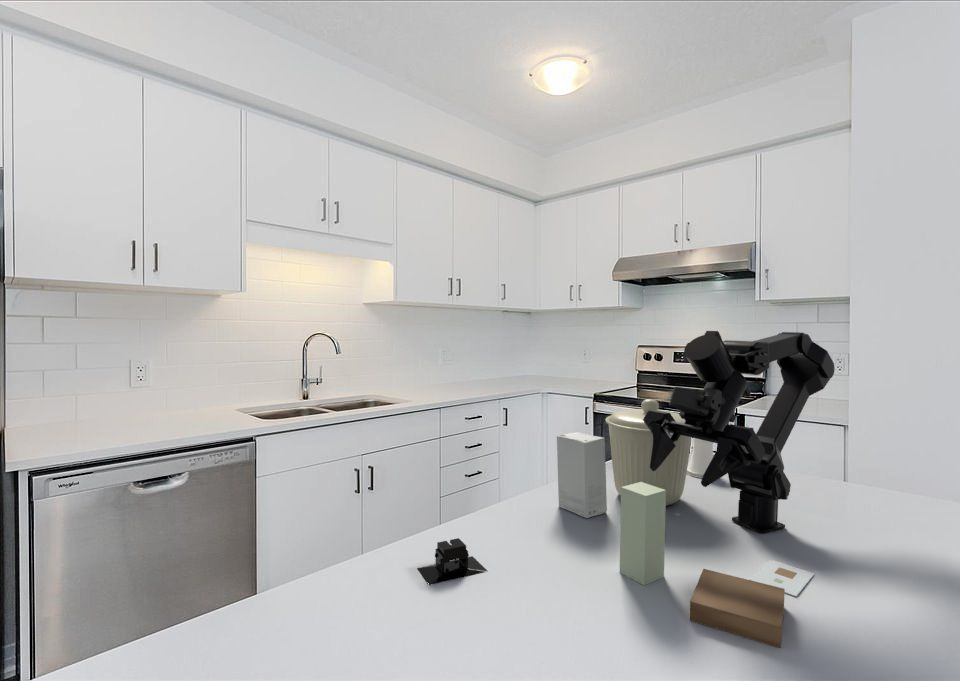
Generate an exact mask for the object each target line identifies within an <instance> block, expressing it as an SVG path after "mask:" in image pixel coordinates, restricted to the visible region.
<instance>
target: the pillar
mask: <svg viewBox="0 0 960 681" xmlns="http://www.w3.org/2000/svg"><path fill="white" fill-rule="evenodd" d="M666 506H667V505H666V490H664V489H661V488H658V487H655V486H652V485H649V484H646V483H643V482H639V483H635V484H631V485H627V486H623V487H621V495H620V523H619V524H620V528H619V529H620V530H619V531H620V532H619V534H620V535H619V573H620V574H623V575H624V576H626V577H628V578H629V579H632V580H633V581H635V582H638V583H639V584H641V585H642V586H645V585H648V584H650V583H652V582H654V581H657V580H660V579H662V578H664V577H665V548H666V546H665V544H666V540H665V538H666Z"/></svg>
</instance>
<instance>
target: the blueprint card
mask: <svg viewBox="0 0 960 681" xmlns="http://www.w3.org/2000/svg"><path fill="white" fill-rule="evenodd" d="M814 576H815V573H814V572H810V571H807V570H805V569H801V568H797V567H795V566H791V565H789V564H785V563H783V562H779V561H775V560H773V559H769V560H768V562H766V563H765V564H764V566H762V567H761V568H760V569H759V570H758V571H757V572H755V574H754V575H752V577H751V578H749V580H751V581H755V582H759V583H763V584H767V585H771V586H775V587H779V588H784V589H785V593H784V594H786V595H789V596H792V597H794V598H797V597H798V596H799V594H800V593H801V592H802V591H803V590H804V588H805V587H806V586H807V584H808V583H809V582H810V581H811V580H812V578H813V577H814Z"/></svg>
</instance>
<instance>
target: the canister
mask: <svg viewBox="0 0 960 681" xmlns="http://www.w3.org/2000/svg"><path fill="white" fill-rule="evenodd" d="M659 408H660V403H659V402H658V401H657V400H655V399H652V398H648V399H647V398H646V399H644V400H643V401H642V402H641V408H638V409H635V408H634V409H633V408H632V409H624V410H619V411H615V412H613V413H612V414H611V415H608V416H606V418H605V423H606V424H608V431H609V432H608V433H609V444H610V451H611V452H610V454H611V464H612V465H611V466H612V471H613V473H612V474H613V481H614V485H615V486H614V488H615V490H616V491H617V493H618V494H619V496H621V487H623V486H627V485H631V484H635V483H639V482H643V483H646V484H649V485H652V486H655V487H658V488H661V489H664V490H666V506H670V505H674V504H676V503H677V502H678V501H679V500H680V499H681V498H682V495H683V494H684V491H685V490H684V489H685V484H686V478H687V477H686V476H687V467H688V465H689V461H690V452H691V451H690V450H691V445H692V439H693V438H692V437H688V436H683V435H680V437H679V439H678V440H677V441H675V442H673V443H674V444H675V445H676V446H675V448H674V449H673V450H672V451H671V453H670V454H669V455H668V456H667V458H666V459H665V460H664V461H663V463H662V464H661V465H660V466H659V467H658V468H657V469H656V470H655V471H652V470H651V469H650V462H651V455H652V447H653V434H652V432H651V431H650V430H649V428H648V427H647V425H646V424H645V423H644V421H643V419H644V417H645V415H646V414H647V412H648V411H649V410H658V411H663V412H668V413H670V414H671V415H672V417H673V418H674V420H675V421H676V422H679V423H684V424H685V419H682V418H681V417H680V415H679V413H677V412H672V411H665V410H660V409H659Z"/></svg>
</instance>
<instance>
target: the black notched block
mask: <svg viewBox="0 0 960 681" xmlns="http://www.w3.org/2000/svg"><path fill="white" fill-rule="evenodd" d="M436 544H437V545H436V547H437V548H435V553H434V558H435V564H434V563H433V564H431V565H430V564H429V565H425V566H421V567H420V566H419V567H417V571H418V573H419V574H420V575H421V577H422V578H423V580H424V581H425V582H428V583H429V585H428V583H426V584H427V585H428V586H432V585H431V584H433V585H437V584H441V583H446V582H449V581H453V580H458V579H462V578H467V577H471V576H475V575H479V574H483V573H488V570H487V569H486V568H485V567H484V565H482V564H481V563H480V562H479V561H478V560H477V559H476V558H475V557H474V556H473V555H472V556H471V555H470V554H469V550H468V549H467V544H465V543H464V542H463V541H462V540H461V539H460V538H458V537H457V538H453V539H450V540H449V542H448V541H447V540H443V541H438V542H437V543H436ZM469 555H470V556H469Z"/></svg>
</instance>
